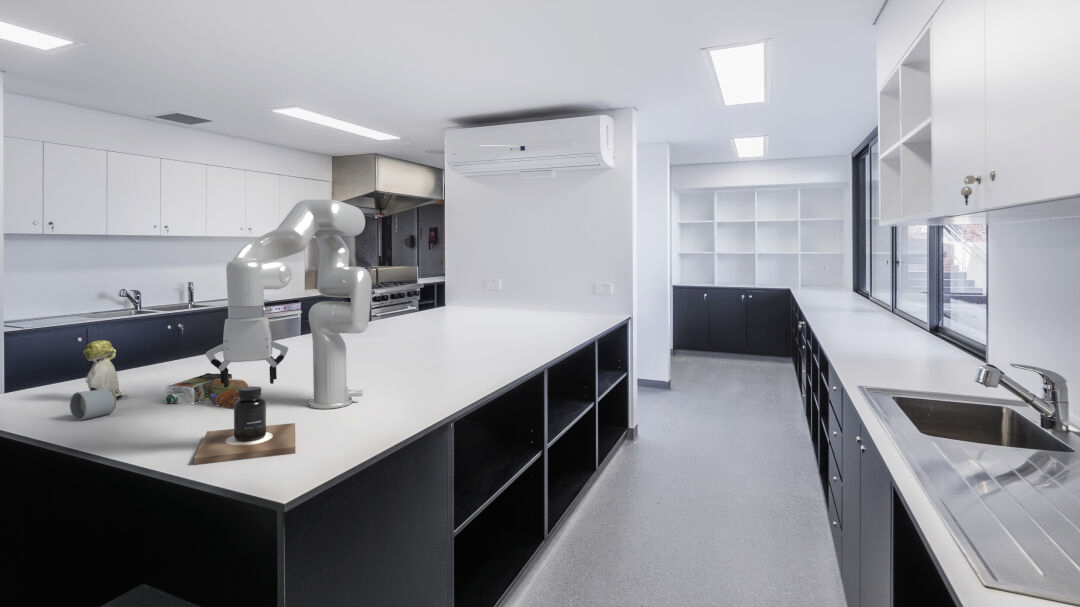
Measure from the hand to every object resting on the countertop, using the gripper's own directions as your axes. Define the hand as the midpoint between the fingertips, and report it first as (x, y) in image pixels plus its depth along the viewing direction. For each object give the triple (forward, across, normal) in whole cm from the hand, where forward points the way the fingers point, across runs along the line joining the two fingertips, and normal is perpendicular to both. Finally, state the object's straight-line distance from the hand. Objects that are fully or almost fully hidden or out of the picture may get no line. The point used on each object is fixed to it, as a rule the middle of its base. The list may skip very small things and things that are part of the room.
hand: (249, 384), depth 132 cm
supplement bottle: (+13, 0, +1) cm, 13 cm away
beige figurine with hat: (+16, +46, -62) cm, 79 cm away
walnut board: (+15, 0, +1) cm, 15 cm away
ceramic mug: (+15, +42, -41) cm, 61 cm away
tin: (+16, +8, -40) cm, 44 cm away
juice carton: (+16, +18, -57) cm, 62 cm away
